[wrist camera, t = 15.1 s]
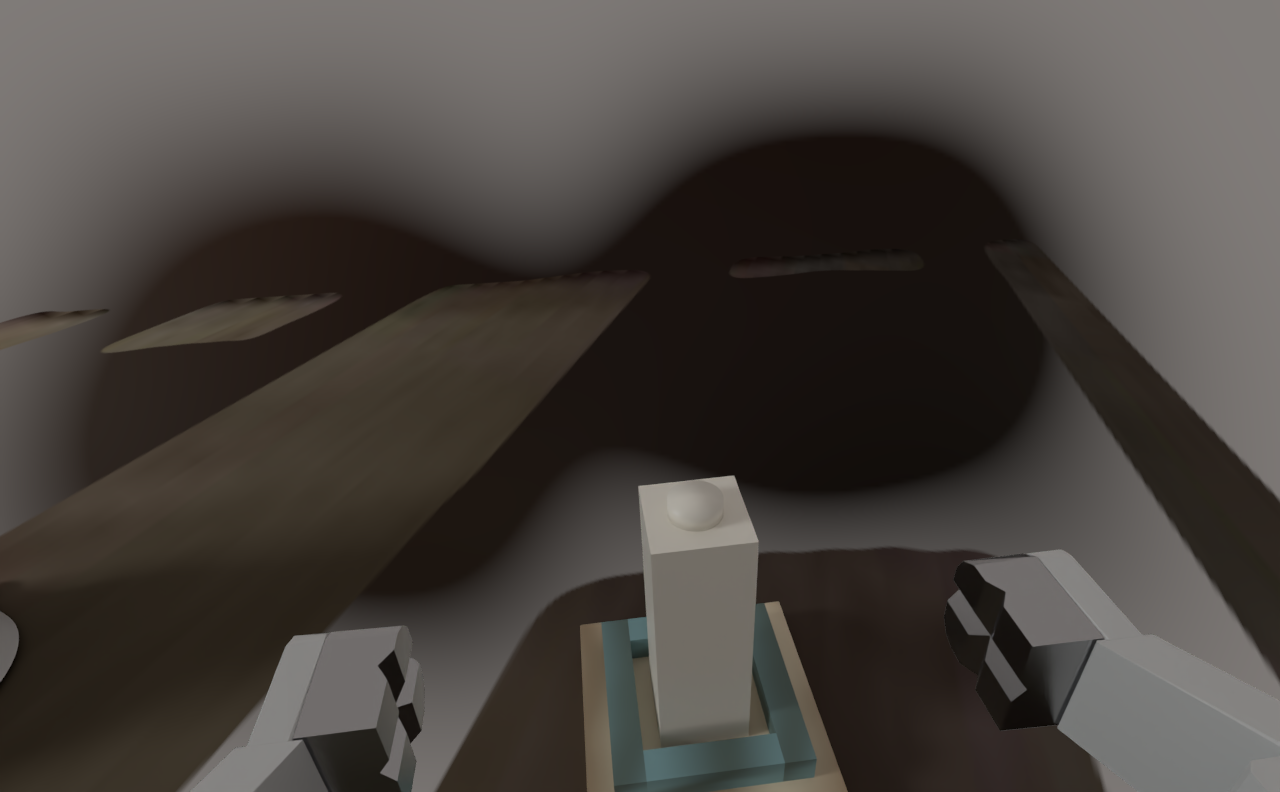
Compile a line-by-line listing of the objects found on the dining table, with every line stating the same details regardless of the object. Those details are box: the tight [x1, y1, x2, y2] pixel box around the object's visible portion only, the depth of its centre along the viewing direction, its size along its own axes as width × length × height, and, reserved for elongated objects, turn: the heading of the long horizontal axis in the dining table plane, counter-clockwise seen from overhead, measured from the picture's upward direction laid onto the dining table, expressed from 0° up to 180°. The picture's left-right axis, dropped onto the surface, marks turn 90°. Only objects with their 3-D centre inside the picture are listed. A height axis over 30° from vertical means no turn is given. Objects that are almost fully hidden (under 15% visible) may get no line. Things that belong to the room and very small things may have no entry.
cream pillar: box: [638, 476, 759, 748], centre depth 33 cm, size 4×4×14 cm
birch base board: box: [580, 602, 848, 792], centre depth 37 cm, size 12×12×4 cm
